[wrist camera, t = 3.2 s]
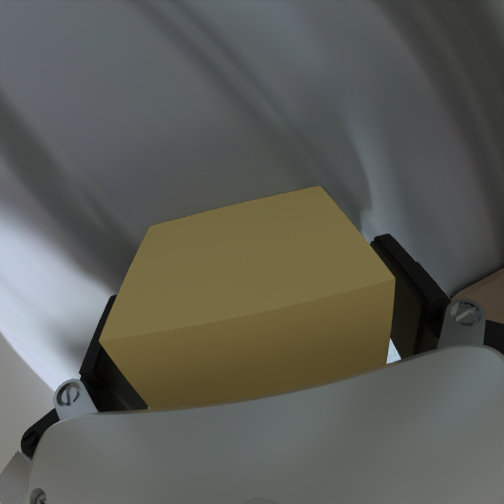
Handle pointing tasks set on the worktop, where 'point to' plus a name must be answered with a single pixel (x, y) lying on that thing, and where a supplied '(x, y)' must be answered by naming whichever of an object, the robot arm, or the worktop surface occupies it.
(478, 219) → the worktop surface
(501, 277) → the block
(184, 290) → the ochre brick
